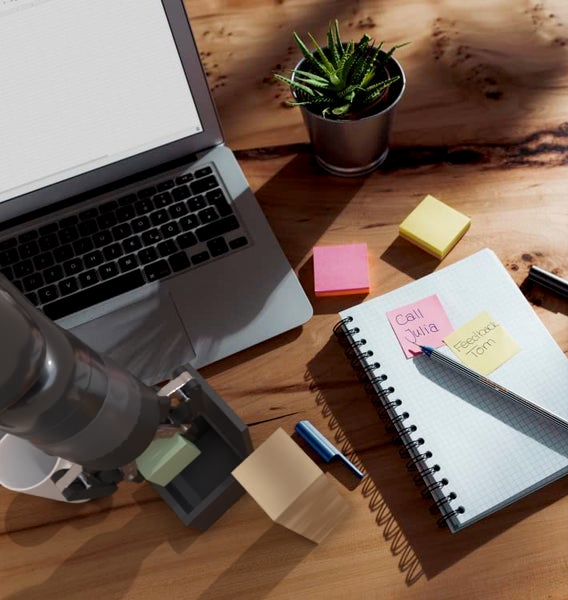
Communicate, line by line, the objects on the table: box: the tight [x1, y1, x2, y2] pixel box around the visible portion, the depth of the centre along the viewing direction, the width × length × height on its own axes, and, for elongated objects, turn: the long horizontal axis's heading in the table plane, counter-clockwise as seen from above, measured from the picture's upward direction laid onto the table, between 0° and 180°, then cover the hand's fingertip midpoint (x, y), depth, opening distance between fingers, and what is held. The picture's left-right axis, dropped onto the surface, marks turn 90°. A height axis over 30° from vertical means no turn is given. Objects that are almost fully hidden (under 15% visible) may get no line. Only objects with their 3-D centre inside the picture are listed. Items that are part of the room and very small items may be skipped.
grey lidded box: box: [149, 413, 248, 532], centre depth 73 cm, size 9×9×7 cm
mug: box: [0, 433, 91, 504], centre depth 70 cm, size 10×7×12 cm, turn 71°
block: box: [136, 434, 201, 486], centre depth 61 cm, size 4×4×4 cm
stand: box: [231, 426, 352, 545], centre depth 62 cm, size 5×5×26 cm
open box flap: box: [182, 361, 255, 458], centre depth 67 cm, size 10×9×1 cm
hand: (167, 452), depth 63 cm, fingers closed on block, 4 cm apart
